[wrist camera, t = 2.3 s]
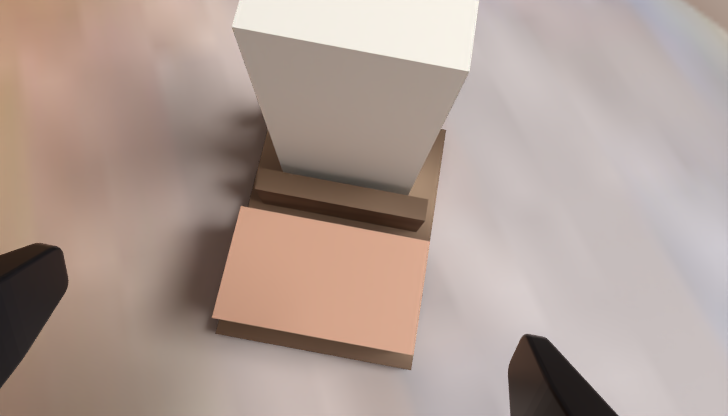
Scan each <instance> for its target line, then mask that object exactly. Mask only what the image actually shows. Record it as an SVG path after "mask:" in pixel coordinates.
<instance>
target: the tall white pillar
mask: <svg viewBox="0 0 728 416" xmlns="http://www.w3.org/2000/svg"><path fill="white" fill-rule="evenodd" d="M478 5H479V0H240V1H239V4H238V7H237V11H236V14H235V18H234V21H233V24H232V29H233V32H234V35H235V37H236V40H237V43H238V46H239V49H240V52H241V54H242V57H243V60H244V63H245V66H246V69H247V71H248V74H249V77H250V80H251V83H252V86H253V88H254V91H255V94H256V97H257V100H258V103H259V105H260V108H261V111H262V114H263V117H264V119H265V122H266V125H267V128H268V131H269V134H270V136H271V139H272V142H273V145H274V148H275V151H276V153H277V156H278V159H279V162H280V165H281V168H282V170H283V172H286V173H291V174H296V175H302V176H307V177H312V178H318V179H323V180H328V181H334V182H339V183H344V184H350V185H355V186H360V187H366V188H371V189H376V190H382V191H387V192H392V193H398V194H403V195H409V192H410V190H411V188H412V186H413V184H414V182H415V180H416V178H417V176H418V174H419V172H420V170H421V168H422V166H423V164H424V162H425V160H426V158H427V156H428V154H429V152H430V150H431V148H432V146H433V144H434V142H435V140H436V138H437V136H438V134H439V132H440V130H441V128H442V126H443V124H444V122H445V120H446V118H447V116H448V114H449V112H450V110H451V108H452V106H453V104H454V102H455V100H456V98H457V96H458V94H459V92H460V89H461V87H462V85H463V83H464V81H465V79H466V77H467V75H468V73H469V71H470V63H471V56H472V49H473V41H474V34H475V27H476V19H477V12H478Z"/></svg>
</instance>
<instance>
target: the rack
mask: <svg viewBox="0 0 728 416" xmlns="http://www.w3.org/2000/svg"><path fill="white" fill-rule="evenodd" d="M445 133H446V130H443V129H441V130H440V132H439V134H438V136H437V138H436V140H435V142H434V144H433V146H432V148H431V150H430V152H429V154H428V156H427V158H426V160H425V162H424V164H423V166H422V168H421V170H420V172H419V174H418V176H417V178H416V180H415V182H414V184H413V186H412V188H411V190H410V192H409V195H403V194H398V193H392V192H387V191H382V190H376V189H371V188H366V187H360V186H355V185H350V184H344V183H339V182H334V181H328V180H323V179H318V178H312V177H307V176H302V175H296V174H291V173H286V172H283V170H282V168H281V165H280V162H279V159H278V156H277V153H276V151H275V148H274V145H273V142H272V139H271V136H270V134H269V131H268V130H267V134H266V138H265V142H264V146H263V149H262V153H261V157H260V161H259V165H258V169H257V173H256V177H255V181H254V185H253V189H252V192H251V196H250V200H249V204H248V207H249V208H254V209H260V210H265V211H270V212H276V213H281V214H286V215H292V216H297V217H302V218H308V219H313V220H318V221H324V222H329V223H334V224H340V225H345V226H350V227H356V228H361V229H366V230H372V231H377V232H382V233H388V234H393V235H398V236H404V237H409V238H414V239H420V240H425V241H430V236H431V229H432V222H433V216H434V209H435V202H436V195H437V188H438V181H439V174H440V167H441V160H442V154H443V147H444V140H445ZM215 334H221V335H226V336H231V337H237V338H242V339H247V340H253V341H258V342H263V343H269V344H274V345H279V346H285V347H290V348H295V349H301V350H306V351H312V352H317V353H322V354H328V355H333V356H338V357H344V358H349V359H354V360H360V361H365V362H370V363H376V364H381V365H386V366H392V367H397V368H402V369H408V370H411V367H412V360H413V355H408V354H403V353H398V352H392V351H387V350H382V349H376V348H371V347H366V346H360V345H355V344H350V343H344V342H339V341H334V340H328V339H323V338H317V337H312V336H307V335H301V334H296V333H291V332H285V331H280V330H275V329H269V328H264V327H259V326H253V325H248V324H243V323H237V322H232V321H227V320H221V319H219V321H218V325H217V329H216V333H215Z"/></svg>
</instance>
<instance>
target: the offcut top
mask: <svg viewBox="0 0 728 416" xmlns="http://www.w3.org/2000/svg"><path fill="white" fill-rule="evenodd" d="M429 244H430V241H425V240H420V239H414V238H409V237H404V236H398V235H393V234H388V233H382V232H377V231H372V230H366V229H361V228H356V227H350V226H345V225H340V224H334V223H329V222H324V221H318V220H313V219H308V218H302V217H297V216H292V215H286V214H281V213H276V212H270V211H265V210H260V209H254V208H249V207H244V206H241V207H240V211H239V215H238V219H237V223H236V227H235V230H234V234H233V238H232V242H231V246H230V250H229V253H228V257H227V261H226V265H225V269H224V273H223V276H222V280H221V284H220V288H219V292H218V296H217V300H216V303H215V307H214V311H213V315H212V318H216V319H221V320H227V321H232V322H237V323H243V324H248V325H253V326H259V327H264V328H269V329H275V330H280V331H285V332H291V333H296V334H301V335H307V336H312V337H317V338H323V339H328V340H334V341H339V342H344V343H350V344H355V345H360V346H366V347H371V348H376V349H382V350H387V351H392V352H398V353H403V354H408V355H413V354H414V347H415V341H416V334H417V327H418V320H419V313H420V306H421V299H422V292H423V285H424V279H425V272H426V265H427V258H428V251H429Z"/></svg>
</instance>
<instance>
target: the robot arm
mask: <svg viewBox="0 0 728 416" xmlns="http://www.w3.org/2000/svg"><path fill="white" fill-rule="evenodd" d="M67 287H68V275H67V270H66V265H65V260H64V255H63V252H62V250H61V249H60V248H59V247H57V246H53V245H48V244H43V243H35V244H31V245H29V246H26V247H23V248H20V249H17V250H14V251H11V252H8V253H5V254H2V255H0V388H1V387H2V386H3V384H4V383H5V382H6V380H7V379H8V378H9V377H10V375H11V374H12V373H13V371H14V370H15V369H16V367H17V366H18V365H19V363H20V362H21V361H22V359H23V358H24V356H25V355H26V353H27V352H28V350H29V349H30V347H31V346H32V344H33V343H34V341H35V339H36V338H37V336H38V335H39V333H40V332H41V330H42V328H43V327H44V325H45V324H46V322H47V321H48V319H49V317H50V316H51V314H52V313H53V311H54V309H55V308H56V306H57V305H58V303H59V302H60V300H61V298H62V297H63V295H64V294H65V292H66V289H67ZM508 382H509V399H510V415H511V416H618V415H617V414H616V412H615V411H614V410H613V409H612V408H611V407H610V406H609V405H608V404H607V403H606V402H605V401H604V399H603V398H602V397H601V396H600V395H599V394H598V393H597V392H596V391H595V390H594V389H593V387H592V386H591V385H590V384H589V383H588V382H587V381H586V380H585V379H584V378H583V377H582V376H581V374H580V373H579V372H578V371H577V370H576V369H575V368H574V367H573V366H572V365H571V364H570V363H569V361H568V360H567V359H566V358H565V357H564V356H563V355H562V354H561V353H560V352H559V351H558V350H557V348H556V347H555V346H554V345H553V344H552V343H551V342H550V341H549V340H548V339H547V338H545V337H542V336H537V335H531V334H525V335H523V336H522V338H521V339H520V341H519V344H518V346H517V348H516V350H515V352H514V354H513V357H512V359H511V361H510V364H509V368H508Z"/></svg>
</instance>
